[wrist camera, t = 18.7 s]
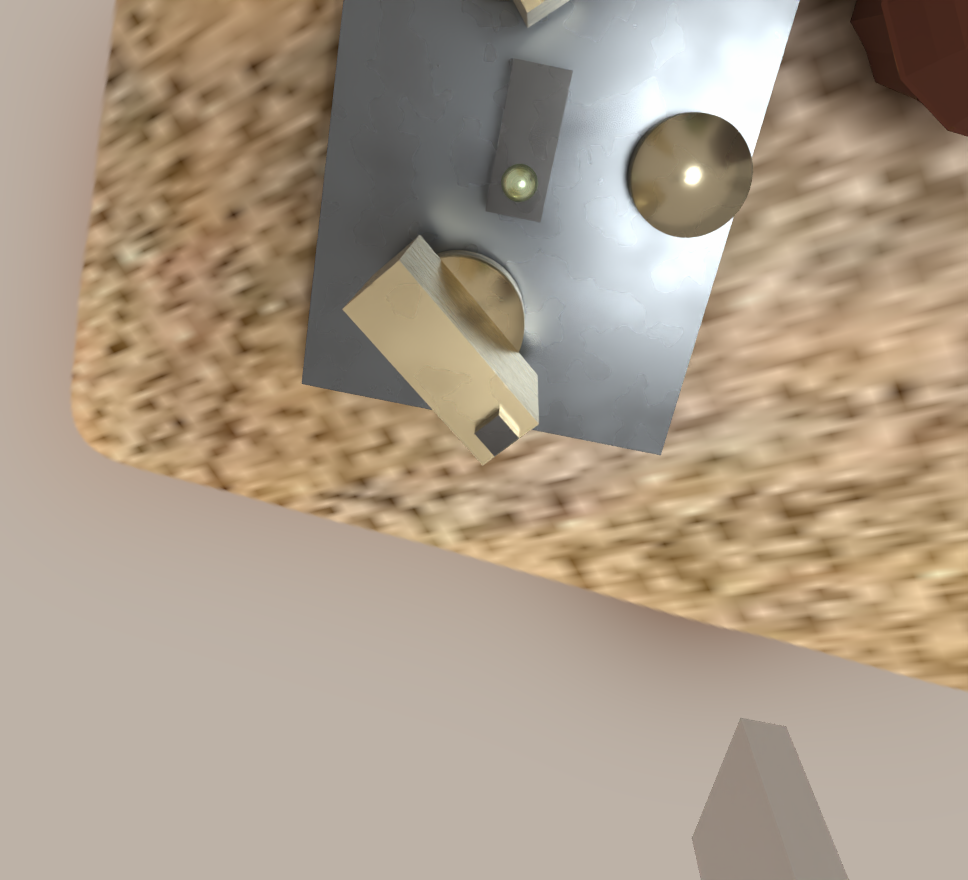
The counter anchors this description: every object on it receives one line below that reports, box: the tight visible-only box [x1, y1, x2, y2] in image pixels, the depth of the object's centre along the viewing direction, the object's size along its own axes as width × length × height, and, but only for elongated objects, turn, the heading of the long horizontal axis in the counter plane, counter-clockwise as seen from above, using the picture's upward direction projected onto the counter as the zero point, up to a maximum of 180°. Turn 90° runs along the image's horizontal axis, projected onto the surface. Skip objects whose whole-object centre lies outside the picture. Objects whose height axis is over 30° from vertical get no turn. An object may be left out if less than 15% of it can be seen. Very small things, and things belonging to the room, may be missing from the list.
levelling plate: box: [302, 0, 800, 455], centre depth 35 cm, size 26×18×4 cm
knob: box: [343, 235, 539, 465], centre depth 34 cm, size 8×6×9 cm
